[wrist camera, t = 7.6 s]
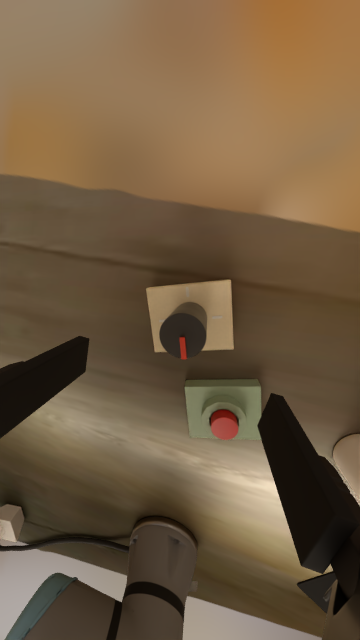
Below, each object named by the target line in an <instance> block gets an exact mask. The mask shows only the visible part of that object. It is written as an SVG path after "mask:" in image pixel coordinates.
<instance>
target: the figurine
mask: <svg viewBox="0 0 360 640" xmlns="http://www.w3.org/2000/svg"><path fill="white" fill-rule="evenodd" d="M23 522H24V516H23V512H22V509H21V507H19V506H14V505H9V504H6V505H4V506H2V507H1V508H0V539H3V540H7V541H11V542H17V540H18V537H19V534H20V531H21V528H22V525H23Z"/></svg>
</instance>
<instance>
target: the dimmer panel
mask: <svg viewBox="0 0 360 640" xmlns="http://www.w3.org/2000/svg"><path fill="white" fill-rule="evenodd" d="M146 292H147V299H148V306H149V313H150V320H151V327H152V335H153V342H154V349H155V352H167V351H166V350H165V349H164V348H163V346H162V344H161V342H160V338H159V331H160V327H161V325H162V323H163V322H164V321H165V320H166V318H167V317H168V316H169V315H170V314H171V313H172V312H173V311H174V310H175V309H176V308H177V307H178V306H179V305H181V304H183V303H185V302H194V303H197V304H199V305H200V306H202V307H203V309H204V310H205V312H206V314H207V337H206V343H205V346H204V348H203V349H202V350H229V349H234V342H233V318H232V294H231V280H229V279H226V280H216V281H206V282H196V283H185V284H175V285H165V286H155V287H149V288H146Z"/></svg>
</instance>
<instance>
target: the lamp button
mask: <svg viewBox="0 0 360 640" xmlns="http://www.w3.org/2000/svg"><path fill="white" fill-rule="evenodd" d="M211 431H212V433H213V434H214V435H215V436H216V437H217V438H219V439H222V440H229V439H232V438H234V437H235V436H236V435H237V433H238V424H237V419H236V416H235V415H234V414H233V413H232V412H230V411H228V410H218V411H216V412H214V413H213V414H212V416H211Z"/></svg>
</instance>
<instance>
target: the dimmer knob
mask: <svg viewBox="0 0 360 640" xmlns="http://www.w3.org/2000/svg"><path fill="white" fill-rule="evenodd" d="M206 337H207V314H206V312H205V310H204V309H203V307H202V306H200V305H199V304H197V303H194V302H185V303H183V304H181V305H179V306H178V307H177V308H176V309H175V310H174V311H173V312H172V313H171V314H170V315H169V316H168V317H167V318H166V320H165V321H164V322H163V323H162V325H161V327H160V331H159V338H160V342H161V344H162V346H163V348H164V349H165V350H166V351H167V352H168V353H169V354H171V355H172V356H175V357H178V358H181V359H187V358H190V357H193V356H195V355H197V354H198V353H199V352H201V350H202V349H203V348H204V346H205V343H206Z"/></svg>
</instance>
